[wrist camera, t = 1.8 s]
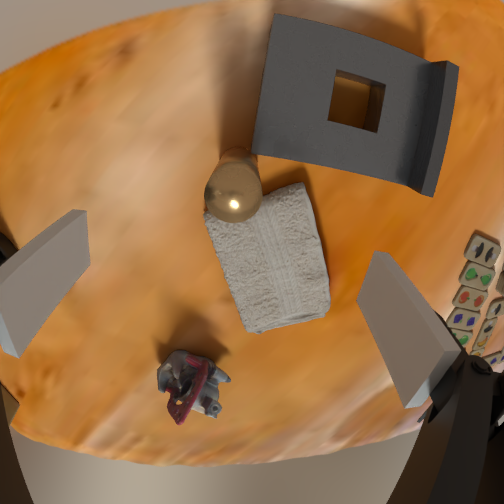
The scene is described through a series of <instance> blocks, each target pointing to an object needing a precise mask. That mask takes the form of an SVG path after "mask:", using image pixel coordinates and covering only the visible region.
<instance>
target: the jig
mask: <svg viewBox="0 0 504 504" xmlns="http://www.w3.org/2000/svg"><path fill="white" fill-rule="evenodd" d="M458 73H459V67H458V66H457V65H455V64H453V63H451V62H449V61H447V60H446V61H438V62H429V61H427V60H425V59H423V58H420V57H418V56H416V55H414V54H411V53H409V52H407V51H404V50H402V49H399V48H397V47H394V46H392V45H389V44H387V43H384V42H381V41H379V40H376V39H373V38H370V37H367V36H364V35H361V34H358V33H355V32H352V31H348V30H345V29H341V28H338V27H334V26H331V25H327V24H323V23H319V22H315V21H310V20H306V19H301V18H297V17H292V16H286V15H281V14H274V17H273V21H272V24H271V30H270V36H269V41H268V47H267V53H266V58H265V64H264V70H263V76H262V82H261V88H260V94H259V100H258V106H257V112H256V118H255V125H254V131H253V137H252V143H251V154H258V155H264V156H271V157H277V158H283V159H289V160H294V161H300V162H305V163H311V164H316V165H321V166H326V167H331V168H335V169H340V170H345V171H349V172H353V173H358V174H362V175H366V176H370V177H375V178H379V179H383V180H387V181H390V182H394V183H398V184H402V185H405V186H408V187H410V188H411V189H413V190H415V191H416V192H418V193H420V194H422V195H425V196H429V197H432V198H433V196H434V192H435V189H436V185H437V181H438V178H439V174H440V170H441V166H442V162H443V158H444V154H445V149H446V145H447V140H448V135H449V130H450V125H451V120H452V115H453V109H454V103H455V96H456V89H457V81H458ZM335 76H338V77H342V78H345V79H349V80H352V81H356V82H359V83H362V84H366V85H369V86H371V90H370V96H369V101H368V107H367V112H366V117H365V123H364V128H363V129H359V128H356V127H352V126H348V125H344V124H340V123H336V122H332V121H327V119H328V114H329V108H330V103H331V97H332V92H333V86H334V80H335Z"/></svg>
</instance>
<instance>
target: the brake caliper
mask: <svg viewBox="0 0 504 504" xmlns="http://www.w3.org/2000/svg"><path fill="white" fill-rule="evenodd" d="M157 379H158V389H159V391H160V392H161V393H165V391H168V392H170V399H169V401H168V404H167V408H168V412H169V414H170V415H171V416H172V417H173V419H174V420H175V422H176V424H177V425H181V424H183V423H184V421H185V419H186V417H187V415H188V413H189V412H190V410H191V409H192V410H195V411H198V412H200V413H203V414H205V415H207V416H210V417H213V418H217V414H218V413H220V411H221V409H222V407H221V405H220V403H219V402H217V401H218V399H219V390H218V384H219V382H231V379H230V378H229V376H228V375H227V374H226V373H225V372H224V371H223V370H221V369H220V368H218V367H217V366H216V365H215V364H214V362H213V361H212V360H210V359H208V358H206V357H204V356H201V357H198V356H195V355H193V354H191V353H188V352H187V351H185V350H176V351H174V352H173V353H171V354H170V355H169V357H168V358H167V360H166V361H165V362H164V363H163V364H162V365H161V366H160V367H159V368H158V369H157ZM178 400H180V401H181V402H182V404H180V405H176V402H177V401H178Z"/></svg>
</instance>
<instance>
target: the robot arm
mask: <svg viewBox="0 0 504 504" xmlns="http://www.w3.org/2000/svg"><path fill="white" fill-rule="evenodd" d="M89 266H90V254H89V243H88V229H87V211H84V210H75V209H73V210H71V211H70V212H68V213H67V214H66V215H64V216H63V217H61V218H60V219H59V220H57V221H56V222H55V223H53V224H52V225H51V226H49V227H48V228H47V229H45V230H44V231H43V232H41V233H40V234H39V235H37V236H36V237H35V238H34V239H32V240H31V241H30V242H29V243H27V244H26V245H25V246H24V247H22V248H21V249H20V250H19V251H18V252H17V250H16V249H15V247H14V246H13V245H12V243H11V242H10V241H9V240H8V239H7V238H6V237H5V236H4V235H3V234H2V233H0V344H1V346H2V348H3V350H4V352H5V353H7V354H10V355H12V356H15V357H17V358H20V356H21V355H22V353H23V352H24V351H25V349H26V348H27V346H28V345H29V343H30V342H31V340H32V339H33V338H34V336H35V335H36V333H37V332H38V330H39V329H40V328H41V326H42V325H43V324H44V322H45V321H46V320H47V318H48V317H49V316H50V314H51V313H52V312H53V310H54V309H55V308H56V306H57V305H58V304H59V302H60V301H61V300H62V299H63V297H64V296H65V295H66V294H67V292H68V291H69V290H70V289H71V287H72V286H73V285H74V284H75V282H76V281H77V280H78V279H79V277H80V276H81V275H82V274H83V273H84V271H85V270H86V269H87V268H88V267H89ZM356 301H357V303H358V305H359V307H360V309H361V311H362V313H363V315H364V317H365V320H366V322H367V324H368V326H369V328H370V330H371V332H372V334H373V337H374V339H375V341H376V343H377V345H378V348H379V350H380V352H381V354H382V357H383V359H384V361H385V363H386V366H387V368H388V370H389V373H390V375H391V377H392V380H393V382H394V384H395V387H396V389H397V392H398V394H399V397H400V399H401V401H402V404H403V406H404V408H411V407H419V406H421V405H422V404H423V403H424V402H425V400H426V399H427V398H428V397H429V395H430V397H431V399H432V401H433V403H432V404H431V405H430V406H429V408H428V409H427V410H426V411H425V412H424V414H423V415H422V416H421V417H420V418H419V420H418V421H417V422H419V423H420V422H421V421H422V419H424V418H425V419H424V421H423V424H422V427H421V430H420V432H419V435H418V438H417V440H416V442H415V445H414V447H413V450H412V452H411V454H410V457H409V459H408V461H407V463H406V465H405V468H404V470H403V472H402V474H401V476H400V478H399V480H398V482H397V484H396V486H395V488H394V490H393V492H392V494H391V496H390V498H389V500H388V502H387V503H386V504H504V422H503V423H502V424H501V425H500V426H499V425H498V420H499V419H500V418H501V417H502V415H504V370H503V372H502V373H498V372H493V370H492V368H491V366H490V365H489V364H488V362H487V361H486V360H484V359H483V358H481V357H479V356H477V355H468V354H467V352H466V351H465V349H464V348H463V346H462V345H461V343H460V342H459V340H458V339H457V337H456V336H455V335H454V334H453V332H452V330H451V329H450V327H448V325H447V323H446V322H445V321H444V319H443V318H442V317H441V316H440V315H439V314H438V313H437V312H436V311H434V310H433V309H432V308H431V306H430V305H429V304H428V302H427V301H426V300H425V298H424V297H423V296H422V294H421V293H420V292H419V291H418V289H417V288H416V287H415V285H414V284H413V283H412V282H411V280H410V279H409V278H408V276H407V275H406V274H405V273H404V271H403V270H402V269H401V268H400V267H399V265H398V264H397V263H396V262H395V260H394V259H393V258H392V257H391V256H390V254H389V253H385V252H379V251H374V254H373V257H372V259H371V262H370V265H369V268H368V271H367V274H366V276H365V279H364V282H363V284H362V287H361V290H360V292H359V295H358V297H357V300H356ZM0 504H34V503H33V501H32V498H31V496H30V493H29V491H28V488H27V485H26V483H25V480H24V477H23V474H22V471H21V468H20V465H19V462H18V459H17V455H16V452H15V449H14V445H13V442H12V438H11V434H10V429H9V425H8V421H7V416H6V411H5V406H4V401H3V395H2V389H1V382H0Z"/></svg>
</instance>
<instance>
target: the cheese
mask: <svg viewBox="0 0 504 504" xmlns="http://www.w3.org/2000/svg"><path fill="white" fill-rule="evenodd" d="M1 389H2V395H3V401H4V406H5V411H6V416H7V421H8V425H9V426H10V424H11V422H12V420H13V418H14V416H15V414H16V412H17V410H18V408H19V406H20V405H19V403H18V402H17V401H16V400H15V399H14V398H13V397H12V396H11V395H10V394H9V393H8V392H7V390H6V389H5V388H4V387H3V386H2V385H1Z"/></svg>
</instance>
